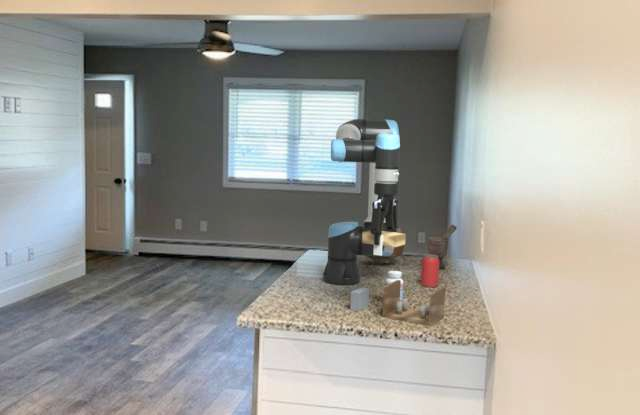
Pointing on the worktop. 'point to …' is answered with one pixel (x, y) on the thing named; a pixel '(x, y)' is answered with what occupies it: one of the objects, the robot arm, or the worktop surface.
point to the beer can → (430, 270)
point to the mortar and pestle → (440, 245)
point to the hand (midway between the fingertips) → (383, 253)
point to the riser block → (359, 299)
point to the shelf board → (385, 238)
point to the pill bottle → (393, 277)
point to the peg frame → (425, 316)
